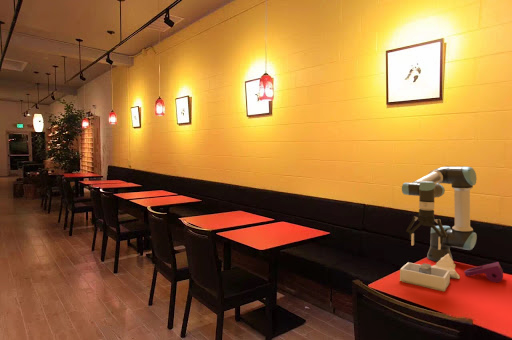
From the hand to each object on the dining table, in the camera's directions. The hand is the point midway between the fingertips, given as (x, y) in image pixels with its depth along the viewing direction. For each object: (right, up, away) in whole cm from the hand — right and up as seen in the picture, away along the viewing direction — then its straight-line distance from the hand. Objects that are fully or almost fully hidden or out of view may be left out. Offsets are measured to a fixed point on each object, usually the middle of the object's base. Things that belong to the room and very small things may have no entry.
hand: (425, 247), depth 182 cm
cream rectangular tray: (0, -20, 0) cm, 20 cm away
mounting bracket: (+38, -20, +9) cm, 44 cm away
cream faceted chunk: (+17, -20, +11) cm, 28 cm away
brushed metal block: (0, -19, +1) cm, 19 cm away
